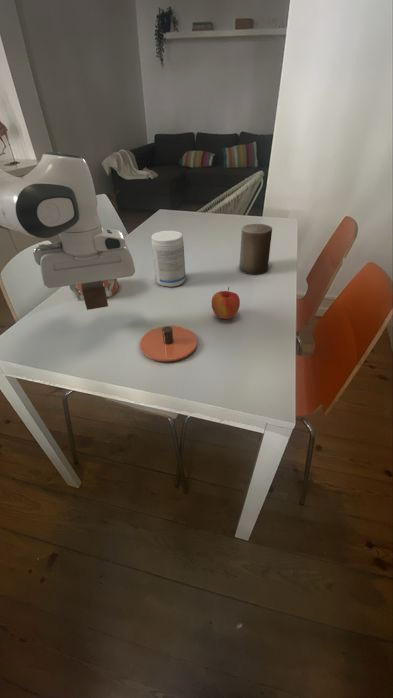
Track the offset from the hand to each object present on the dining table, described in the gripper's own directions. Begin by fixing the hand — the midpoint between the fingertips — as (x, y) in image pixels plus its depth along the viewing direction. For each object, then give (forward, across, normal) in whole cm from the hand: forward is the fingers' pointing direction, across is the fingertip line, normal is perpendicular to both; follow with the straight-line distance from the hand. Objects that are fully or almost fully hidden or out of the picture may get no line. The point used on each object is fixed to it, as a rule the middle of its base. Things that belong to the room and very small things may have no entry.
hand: (95, 297), depth 76 cm
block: (+2, 0, 0) cm, 2 cm away
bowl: (+9, +1, +22) cm, 23 cm away
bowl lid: (+8, +14, -13) cm, 21 cm away
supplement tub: (+9, +24, +20) cm, 32 cm away
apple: (+8, +32, -6) cm, 33 cm away
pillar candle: (+8, +53, +18) cm, 57 cm away
